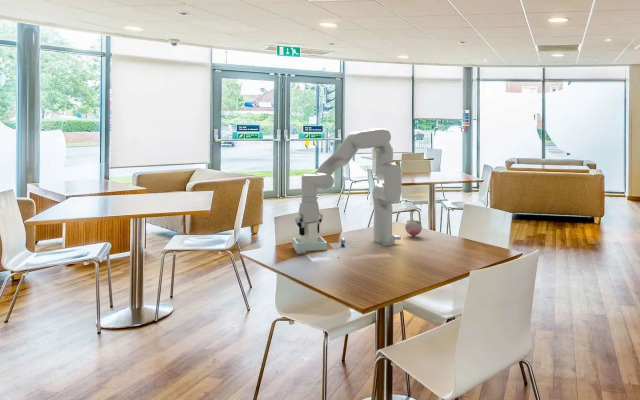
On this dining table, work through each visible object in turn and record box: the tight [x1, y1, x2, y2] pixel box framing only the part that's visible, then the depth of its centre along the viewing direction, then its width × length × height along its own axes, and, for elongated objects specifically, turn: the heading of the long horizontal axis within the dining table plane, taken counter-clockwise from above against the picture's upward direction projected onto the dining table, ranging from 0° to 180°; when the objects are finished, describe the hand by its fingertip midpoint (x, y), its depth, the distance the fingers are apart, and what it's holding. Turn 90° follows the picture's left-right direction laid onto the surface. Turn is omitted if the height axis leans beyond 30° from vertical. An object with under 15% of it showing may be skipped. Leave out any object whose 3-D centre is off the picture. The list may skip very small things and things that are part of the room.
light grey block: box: [300, 222, 318, 243], centre depth 248 cm, size 6×6×13 cm
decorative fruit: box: [404, 219, 423, 237], centre depth 280 cm, size 9×8×10 cm
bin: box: [292, 235, 328, 255], centre depth 248 cm, size 15×15×5 cm
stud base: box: [328, 237, 358, 250], centre depth 252 cm, size 12×12×5 cm
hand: (309, 233), depth 248 cm, fingers open, 9 cm apart
